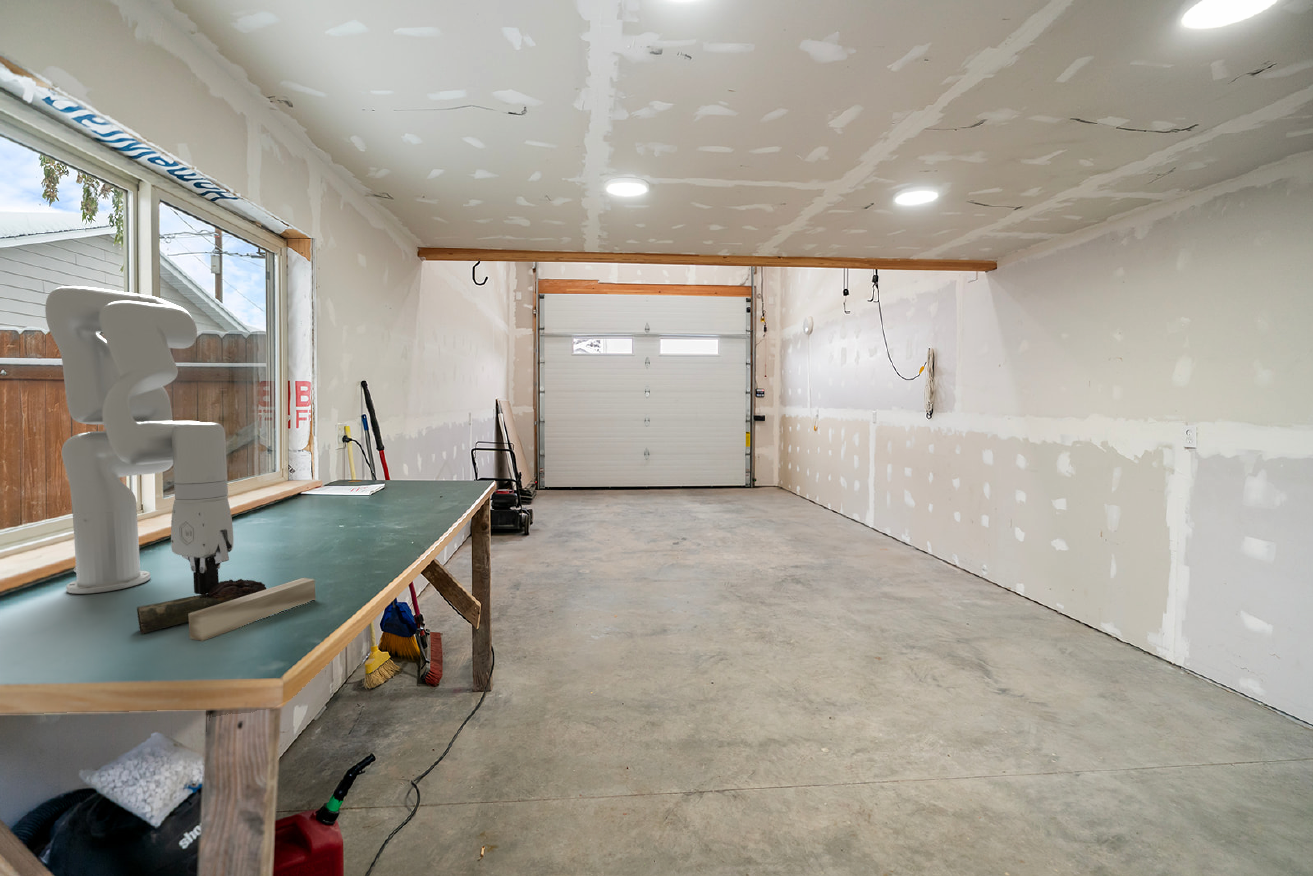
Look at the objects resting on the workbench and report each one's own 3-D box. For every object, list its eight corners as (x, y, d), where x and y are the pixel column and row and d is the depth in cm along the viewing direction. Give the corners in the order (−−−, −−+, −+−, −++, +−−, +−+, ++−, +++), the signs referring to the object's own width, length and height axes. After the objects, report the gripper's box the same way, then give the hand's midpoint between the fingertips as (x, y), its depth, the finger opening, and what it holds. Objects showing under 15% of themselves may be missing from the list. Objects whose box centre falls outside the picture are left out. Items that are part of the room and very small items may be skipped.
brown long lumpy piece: (140, 638, 93) (138, 603, 93) (137, 627, 98) (135, 594, 98) (270, 609, 106) (268, 578, 105) (261, 601, 111) (260, 571, 110)
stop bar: (189, 638, 92) (188, 613, 92) (303, 598, 111) (303, 577, 111) (202, 641, 91) (201, 616, 91) (315, 600, 110) (314, 579, 110)
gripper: (150, 492, 103) (156, 594, 104) (208, 496, 98) (213, 603, 99) (196, 486, 110) (201, 582, 111) (252, 490, 105) (256, 590, 106)
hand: (206, 591), depth 105 cm, fingers closed
